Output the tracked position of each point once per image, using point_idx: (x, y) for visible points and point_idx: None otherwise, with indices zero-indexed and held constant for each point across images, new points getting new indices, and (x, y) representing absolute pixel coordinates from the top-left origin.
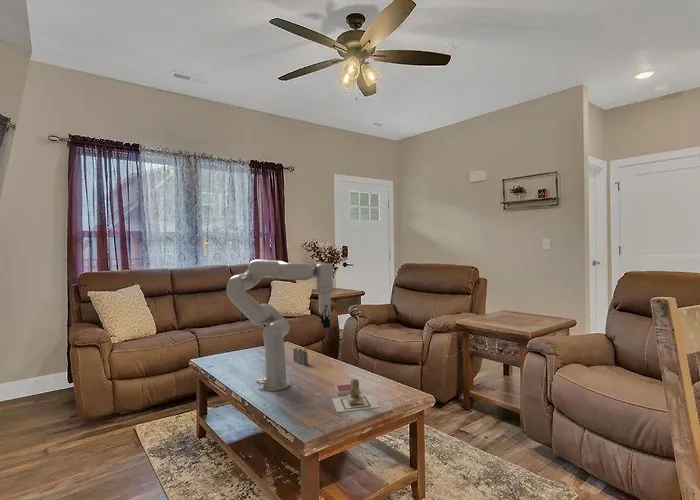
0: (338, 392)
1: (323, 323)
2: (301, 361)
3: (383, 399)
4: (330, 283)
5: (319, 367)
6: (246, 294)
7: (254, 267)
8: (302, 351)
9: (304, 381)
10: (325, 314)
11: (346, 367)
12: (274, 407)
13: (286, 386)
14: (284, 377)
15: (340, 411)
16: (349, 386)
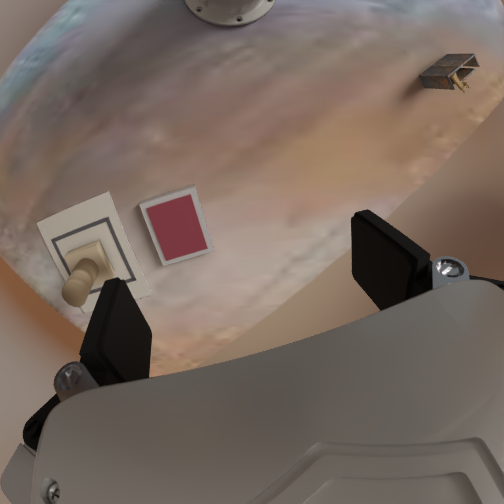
0: (140, 207)
1: (96, 314)
2: (431, 70)
3: None
4: None
5: (398, 120)
6: None
7: None
8: (453, 73)
9: (274, 70)
10: (28, 447)
11: (384, 204)
12: (57, 42)
13: (206, 20)
14: (220, 3)
15: (40, 231)
16: (183, 237)
